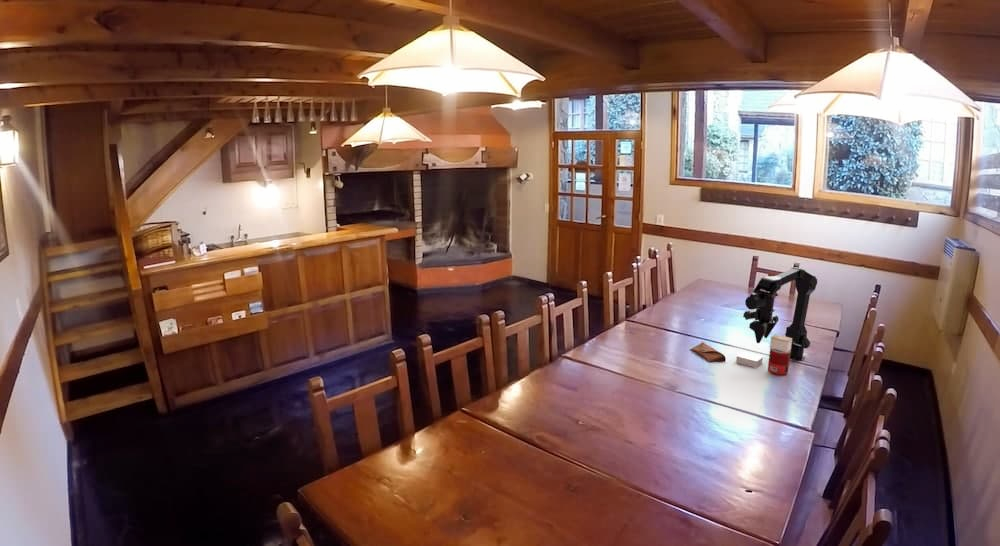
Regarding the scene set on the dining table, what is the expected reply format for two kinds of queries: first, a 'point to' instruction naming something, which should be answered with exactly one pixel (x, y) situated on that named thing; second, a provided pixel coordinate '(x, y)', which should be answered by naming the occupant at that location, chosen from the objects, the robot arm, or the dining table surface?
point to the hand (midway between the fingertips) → (761, 340)
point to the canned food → (778, 362)
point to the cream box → (781, 343)
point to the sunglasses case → (708, 353)
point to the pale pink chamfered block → (749, 359)
